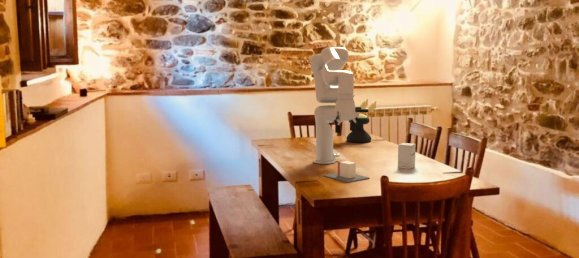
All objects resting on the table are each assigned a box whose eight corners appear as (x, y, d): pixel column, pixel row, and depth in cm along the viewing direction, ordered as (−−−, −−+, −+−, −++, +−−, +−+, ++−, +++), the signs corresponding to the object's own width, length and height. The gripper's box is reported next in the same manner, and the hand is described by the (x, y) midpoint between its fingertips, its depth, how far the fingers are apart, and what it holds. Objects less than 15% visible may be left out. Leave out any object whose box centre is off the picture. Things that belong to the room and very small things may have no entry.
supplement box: (410, 169, 323) (411, 145, 321) (397, 167, 326) (397, 144, 325) (415, 166, 329) (416, 143, 327) (402, 165, 333) (402, 142, 331)
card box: (355, 177, 302) (355, 162, 301) (348, 178, 299) (348, 164, 298) (344, 174, 308) (344, 160, 307) (337, 175, 305) (337, 161, 304)
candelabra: (376, 142, 407) (377, 74, 401) (344, 144, 402) (345, 75, 396) (366, 138, 425) (367, 73, 419) (336, 139, 420) (336, 73, 414)
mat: (344, 172, 315) (344, 171, 315) (369, 178, 300) (369, 177, 300) (323, 176, 306) (323, 175, 306) (348, 182, 292) (348, 181, 292)
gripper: (353, 95, 307) (352, 129, 310) (327, 97, 297) (326, 132, 300) (363, 96, 301) (363, 131, 304) (337, 99, 291) (337, 134, 294)
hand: (345, 131), depth 302 cm, fingers open, 9 cm apart
